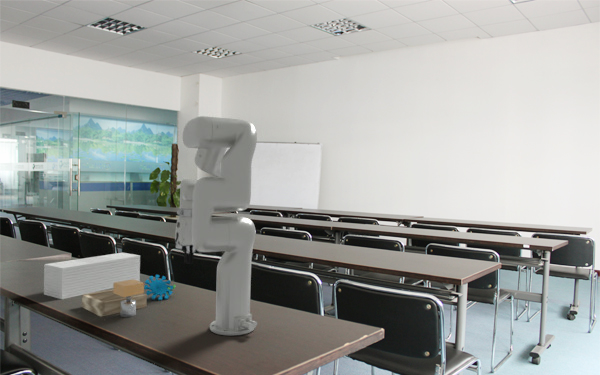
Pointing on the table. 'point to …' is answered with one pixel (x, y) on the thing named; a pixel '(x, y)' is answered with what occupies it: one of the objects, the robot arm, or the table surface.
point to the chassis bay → (108, 302)
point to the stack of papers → (89, 274)
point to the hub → (128, 288)
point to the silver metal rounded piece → (128, 307)
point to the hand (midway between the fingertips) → (188, 263)
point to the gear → (159, 287)
